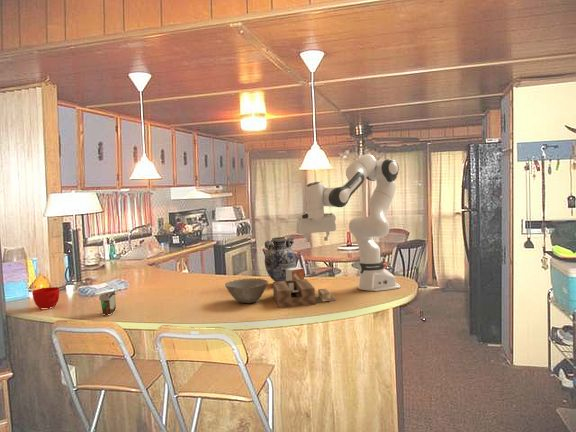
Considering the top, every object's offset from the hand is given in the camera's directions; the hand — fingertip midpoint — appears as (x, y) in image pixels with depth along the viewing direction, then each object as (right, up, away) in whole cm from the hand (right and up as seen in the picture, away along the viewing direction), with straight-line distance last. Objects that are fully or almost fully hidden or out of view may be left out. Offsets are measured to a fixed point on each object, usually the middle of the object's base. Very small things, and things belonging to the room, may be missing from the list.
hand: (316, 241), depth 252 cm
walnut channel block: (-12, -30, 0) cm, 32 cm away
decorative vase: (-18, -28, +42) cm, 53 cm away
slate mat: (+3, -29, -1) cm, 29 cm away
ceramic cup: (-143, -37, +13) cm, 148 cm away
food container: (-105, -36, -6) cm, 111 cm away
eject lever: (-12, -26, 0) cm, 29 cm away
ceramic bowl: (-35, -32, +3) cm, 48 cm away
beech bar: (+4, -29, -2) cm, 29 cm away
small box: (-10, -29, +20) cm, 37 cm away
